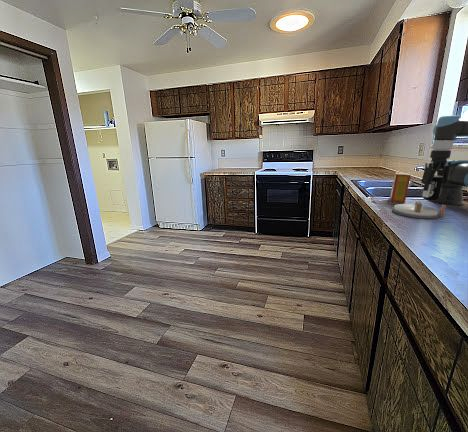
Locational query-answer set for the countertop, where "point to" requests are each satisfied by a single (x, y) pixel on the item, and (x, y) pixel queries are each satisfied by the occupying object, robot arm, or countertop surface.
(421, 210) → the disc
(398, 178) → the baking soda box
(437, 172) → the robot arm
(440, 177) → the beverage can
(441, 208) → the base
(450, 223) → the countertop surface
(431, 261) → the countertop surface
